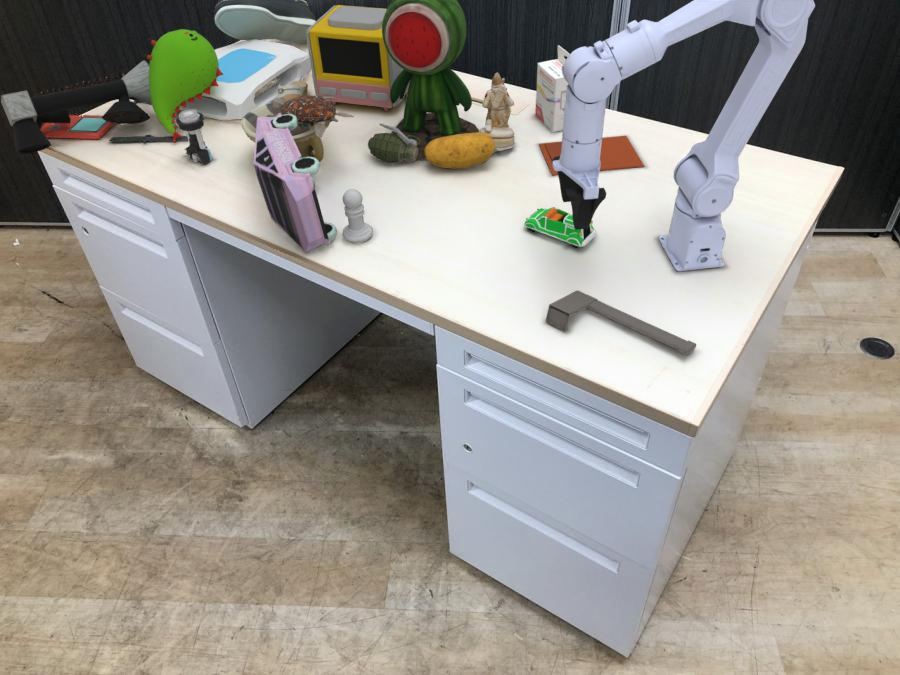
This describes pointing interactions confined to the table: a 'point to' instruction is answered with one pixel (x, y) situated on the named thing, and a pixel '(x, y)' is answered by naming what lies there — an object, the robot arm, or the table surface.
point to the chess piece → (355, 218)
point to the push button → (194, 135)
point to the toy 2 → (309, 111)
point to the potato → (460, 150)
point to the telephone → (76, 106)
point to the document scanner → (250, 77)
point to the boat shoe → (265, 19)
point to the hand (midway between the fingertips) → (575, 213)
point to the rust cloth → (601, 154)
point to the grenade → (393, 146)
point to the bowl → (301, 136)
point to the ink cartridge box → (551, 91)
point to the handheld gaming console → (78, 127)
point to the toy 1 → (180, 73)
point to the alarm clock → (352, 57)
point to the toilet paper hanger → (579, 301)
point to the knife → (145, 138)
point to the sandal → (292, 90)
